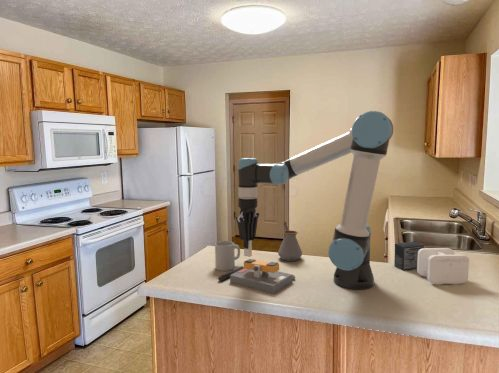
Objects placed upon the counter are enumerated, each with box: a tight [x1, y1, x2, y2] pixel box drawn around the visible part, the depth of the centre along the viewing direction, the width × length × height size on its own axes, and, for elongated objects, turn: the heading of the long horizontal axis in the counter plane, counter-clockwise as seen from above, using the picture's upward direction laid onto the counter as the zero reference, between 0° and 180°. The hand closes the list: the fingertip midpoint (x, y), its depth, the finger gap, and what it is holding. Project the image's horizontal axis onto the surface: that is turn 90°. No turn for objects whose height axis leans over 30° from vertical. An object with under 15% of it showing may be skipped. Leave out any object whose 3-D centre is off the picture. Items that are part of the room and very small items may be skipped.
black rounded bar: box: [217, 265, 244, 282], centre depth 150 cm, size 2×16×2 cm, turn 145°
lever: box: [243, 258, 280, 273], centre depth 142 cm, size 14×4×3 cm, turn 55°
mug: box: [214, 240, 241, 272], centre depth 161 cm, size 12×8×11 cm
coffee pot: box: [277, 220, 303, 262], centre depth 176 cm, size 21×12×15 cm, turn 4°
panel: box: [229, 260, 293, 295], centre depth 142 cm, size 20×14×8 cm
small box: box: [393, 241, 425, 272], centre depth 158 cm, size 11×6×10 cm, turn 106°
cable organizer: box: [416, 247, 470, 286], centre depth 142 cm, size 15×11×12 cm
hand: (247, 255), depth 145 cm, fingers closed
